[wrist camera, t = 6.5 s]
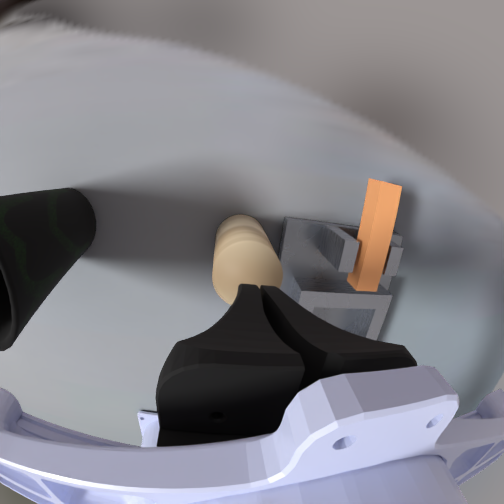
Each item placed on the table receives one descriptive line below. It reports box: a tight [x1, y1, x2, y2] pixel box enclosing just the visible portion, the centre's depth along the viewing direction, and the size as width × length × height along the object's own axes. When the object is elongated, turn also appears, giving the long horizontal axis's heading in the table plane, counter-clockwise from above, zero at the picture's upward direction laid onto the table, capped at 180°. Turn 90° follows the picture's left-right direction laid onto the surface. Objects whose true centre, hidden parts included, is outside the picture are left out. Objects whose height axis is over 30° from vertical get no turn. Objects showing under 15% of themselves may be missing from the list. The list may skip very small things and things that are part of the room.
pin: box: [347, 179, 402, 292], centre depth 17 cm, size 7×2×2 cm, turn 172°
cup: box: [0, 188, 96, 351], centre depth 14 cm, size 8×8×12 cm
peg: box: [212, 214, 283, 305], centre depth 18 cm, size 4×4×7 cm
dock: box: [278, 217, 404, 340], centre depth 22 cm, size 16×10×5 cm, turn 172°
